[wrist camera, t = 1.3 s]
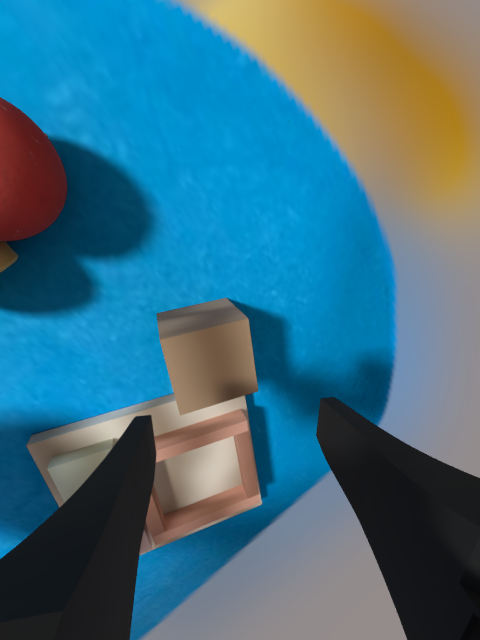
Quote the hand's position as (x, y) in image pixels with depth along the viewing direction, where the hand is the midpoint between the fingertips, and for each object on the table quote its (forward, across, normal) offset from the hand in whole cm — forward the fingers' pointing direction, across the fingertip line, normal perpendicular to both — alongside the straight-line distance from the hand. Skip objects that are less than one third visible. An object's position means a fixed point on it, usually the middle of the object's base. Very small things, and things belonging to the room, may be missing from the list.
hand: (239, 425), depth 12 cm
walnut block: (+10, +2, 0) cm, 10 cm away
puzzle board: (+9, +5, +12) cm, 16 cm away
